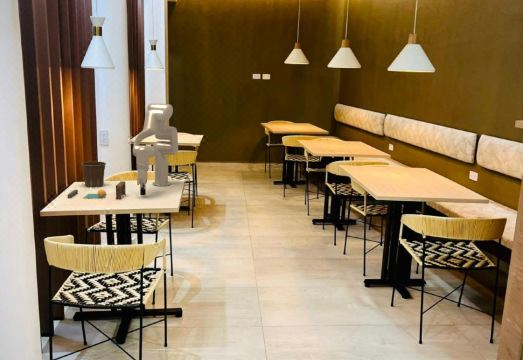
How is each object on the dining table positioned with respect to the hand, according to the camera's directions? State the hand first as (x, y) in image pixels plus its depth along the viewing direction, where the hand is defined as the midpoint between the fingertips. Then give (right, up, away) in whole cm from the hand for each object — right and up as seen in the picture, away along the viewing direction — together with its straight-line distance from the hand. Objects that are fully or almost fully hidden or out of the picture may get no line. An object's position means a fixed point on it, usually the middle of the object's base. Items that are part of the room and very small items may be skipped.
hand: (143, 195), depth 314 cm
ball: (-25, +1, -4) cm, 26 cm away
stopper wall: (-44, 0, -3) cm, 44 cm away
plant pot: (-41, +5, +28) cm, 50 cm away
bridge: (-14, -1, -1) cm, 14 cm away
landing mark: (-30, -1, -2) cm, 30 cm away
